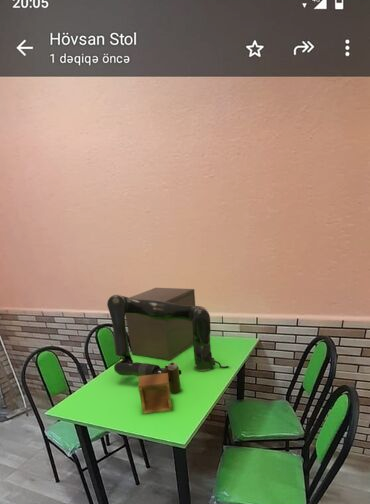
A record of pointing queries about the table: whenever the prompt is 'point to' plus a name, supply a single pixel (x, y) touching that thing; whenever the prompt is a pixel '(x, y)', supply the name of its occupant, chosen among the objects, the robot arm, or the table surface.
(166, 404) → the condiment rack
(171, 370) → the pepper mill
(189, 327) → the storage cube
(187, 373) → the table surface
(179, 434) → the table surface
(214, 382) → the table surface
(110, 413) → the table surface
